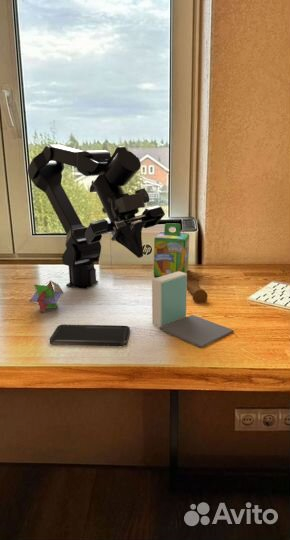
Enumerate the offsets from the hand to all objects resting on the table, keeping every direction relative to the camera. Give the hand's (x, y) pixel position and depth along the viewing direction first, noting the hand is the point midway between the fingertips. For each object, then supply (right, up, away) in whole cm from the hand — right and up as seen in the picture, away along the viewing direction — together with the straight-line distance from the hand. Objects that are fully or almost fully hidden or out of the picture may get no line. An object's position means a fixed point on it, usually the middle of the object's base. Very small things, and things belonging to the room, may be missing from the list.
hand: (141, 256), depth 91 cm
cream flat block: (+6, -14, -3) cm, 15 cm away
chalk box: (+9, -4, +30) cm, 32 cm away
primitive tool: (+13, -9, +17) cm, 23 cm away
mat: (+11, -15, -8) cm, 21 cm away
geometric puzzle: (-22, -12, +4) cm, 25 cm away
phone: (-10, -17, -10) cm, 22 cm away
